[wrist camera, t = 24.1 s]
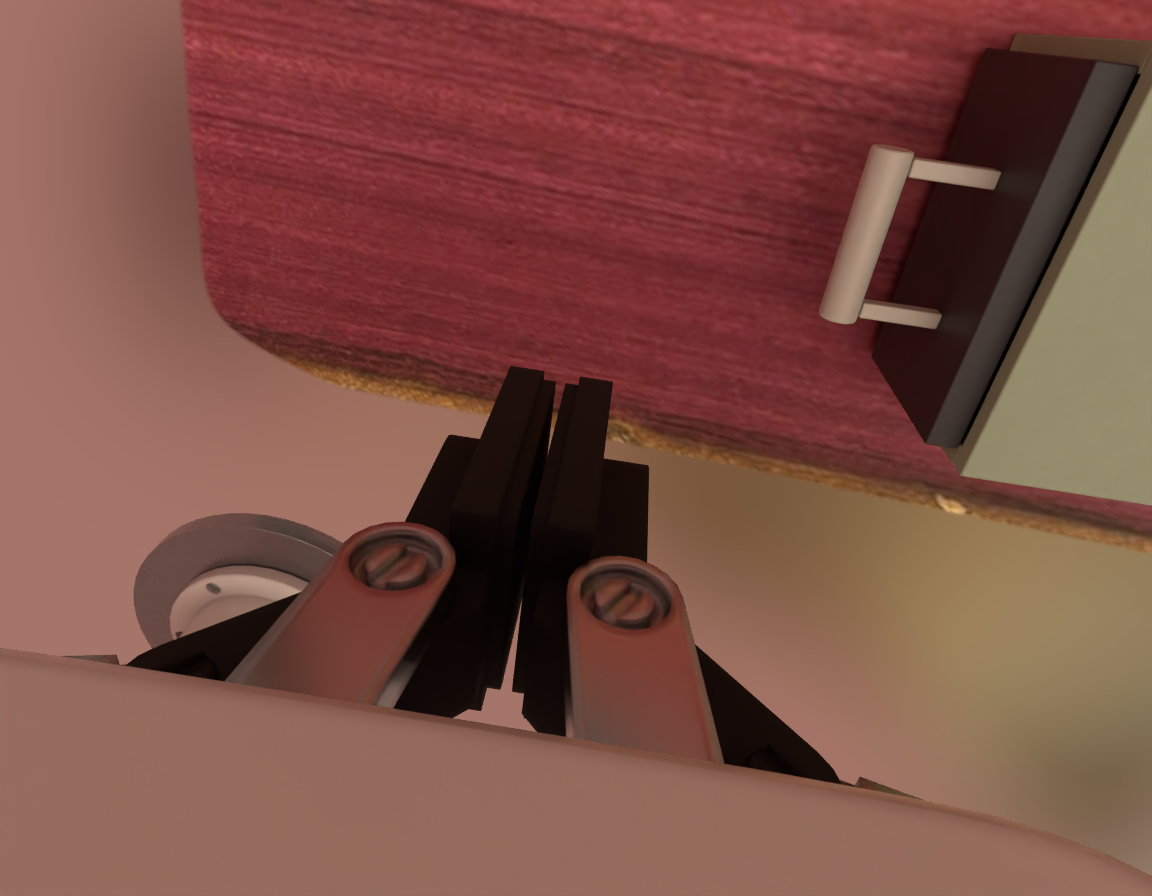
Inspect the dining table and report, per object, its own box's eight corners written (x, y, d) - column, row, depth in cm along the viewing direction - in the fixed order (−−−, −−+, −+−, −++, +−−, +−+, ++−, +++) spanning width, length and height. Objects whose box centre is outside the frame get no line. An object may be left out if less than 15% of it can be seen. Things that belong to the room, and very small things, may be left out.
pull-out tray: (776, 342, 33) (807, 426, 26) (868, 30, 26) (939, 36, 20) (1167, 401, 32) (1299, 502, 26) (1359, 101, 26) (1601, 131, 19)
